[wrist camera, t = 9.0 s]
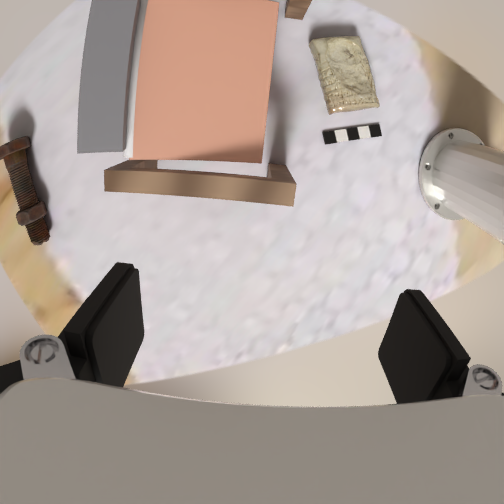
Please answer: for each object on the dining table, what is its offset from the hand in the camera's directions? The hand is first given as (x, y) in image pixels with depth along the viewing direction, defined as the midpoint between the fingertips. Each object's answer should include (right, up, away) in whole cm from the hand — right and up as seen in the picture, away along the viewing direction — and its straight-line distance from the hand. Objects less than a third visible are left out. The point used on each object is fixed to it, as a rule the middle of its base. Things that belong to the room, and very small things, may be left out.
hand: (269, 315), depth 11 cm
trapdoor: (-8, +19, +15) cm, 25 cm away
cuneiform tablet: (+13, +21, +19) cm, 31 cm away
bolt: (-32, +11, +27) cm, 43 cm away
